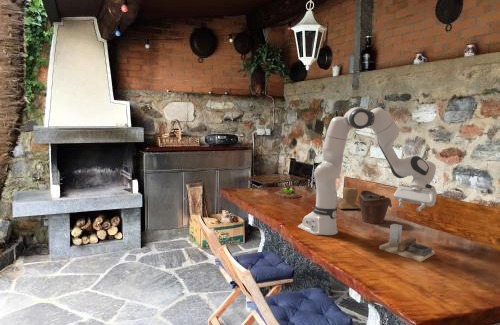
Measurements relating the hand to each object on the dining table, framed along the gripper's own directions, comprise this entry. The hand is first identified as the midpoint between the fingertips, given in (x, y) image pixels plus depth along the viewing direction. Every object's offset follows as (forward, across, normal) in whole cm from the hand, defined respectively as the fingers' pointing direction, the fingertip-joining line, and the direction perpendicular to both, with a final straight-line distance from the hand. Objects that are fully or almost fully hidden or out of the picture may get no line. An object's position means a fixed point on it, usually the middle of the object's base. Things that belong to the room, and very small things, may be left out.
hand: (408, 208), depth 183 cm
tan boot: (-14, -59, +39) cm, 72 cm away
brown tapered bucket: (-3, -31, +29) cm, 42 cm away
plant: (-10, -112, +36) cm, 118 cm away
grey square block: (+20, 0, +3) cm, 21 cm away
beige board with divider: (+22, +6, +4) cm, 23 cm away
